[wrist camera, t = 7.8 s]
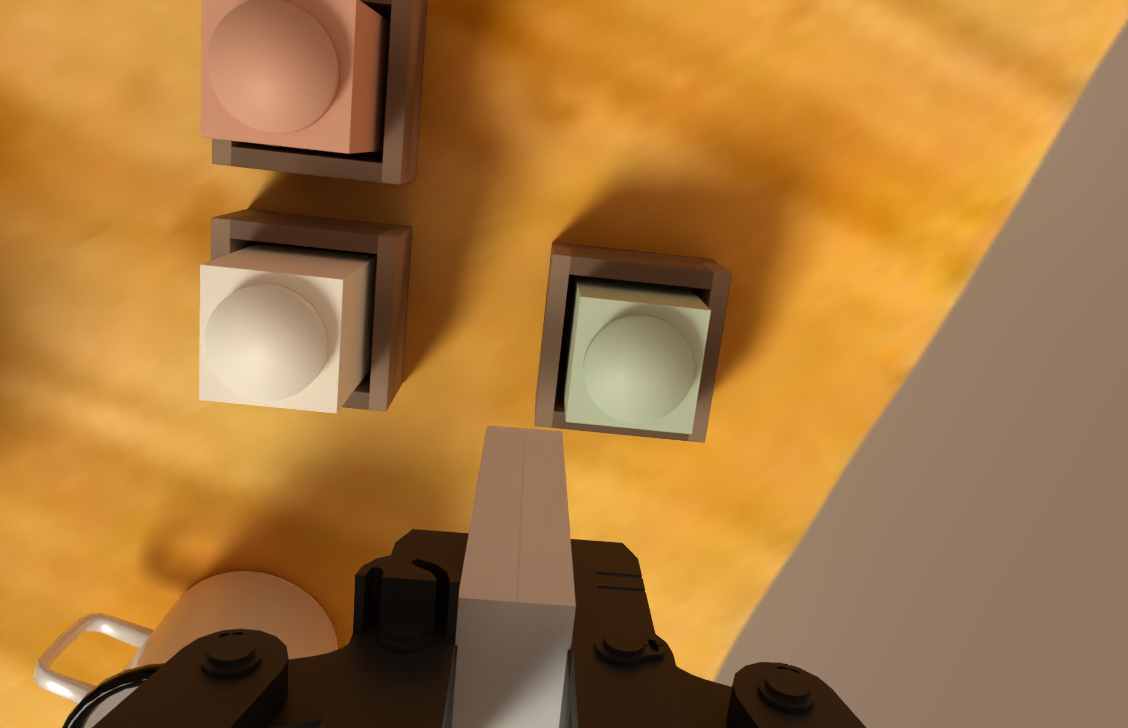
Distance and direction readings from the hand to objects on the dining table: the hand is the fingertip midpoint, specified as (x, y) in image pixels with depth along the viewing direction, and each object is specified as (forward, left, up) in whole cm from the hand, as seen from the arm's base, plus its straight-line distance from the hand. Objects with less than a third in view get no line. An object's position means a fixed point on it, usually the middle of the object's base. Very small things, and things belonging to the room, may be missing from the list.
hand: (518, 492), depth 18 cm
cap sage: (+1, +4, -21) cm, 21 cm away
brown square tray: (+1, +4, -21) cm, 22 cm away
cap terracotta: (-8, -9, -19) cm, 23 cm away
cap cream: (+1, -9, -19) cm, 21 cm away
